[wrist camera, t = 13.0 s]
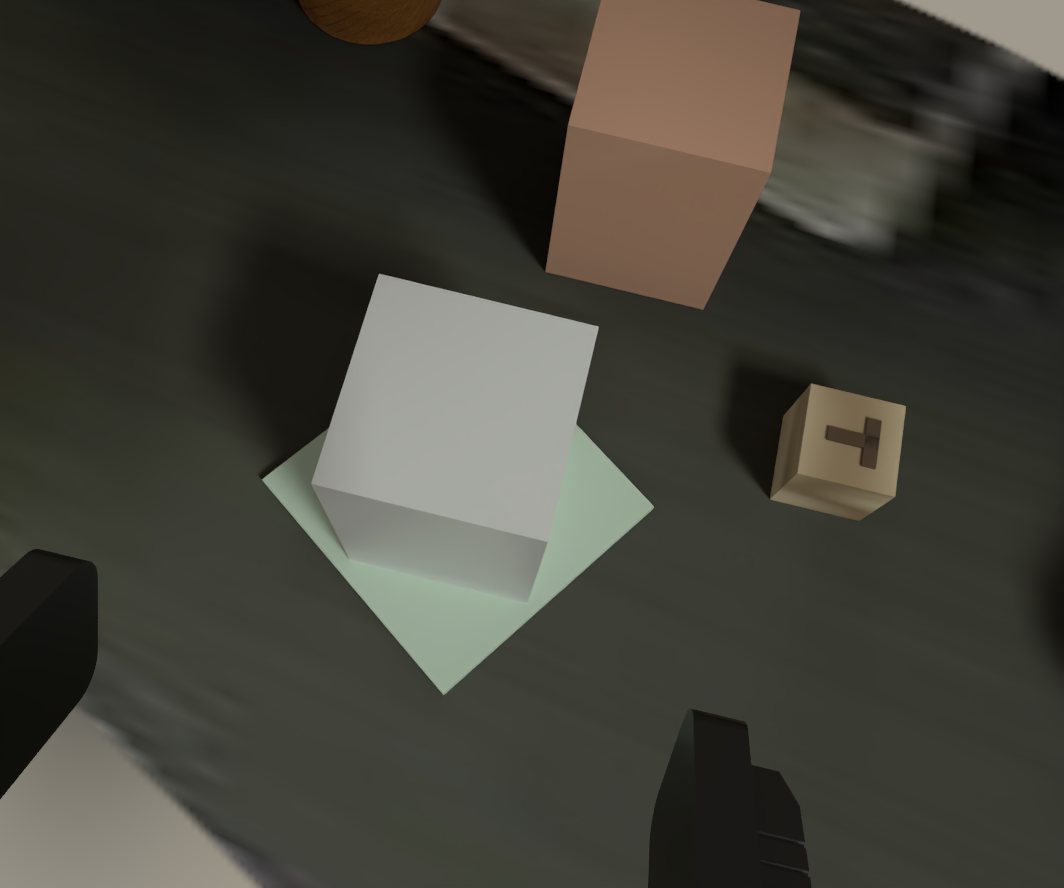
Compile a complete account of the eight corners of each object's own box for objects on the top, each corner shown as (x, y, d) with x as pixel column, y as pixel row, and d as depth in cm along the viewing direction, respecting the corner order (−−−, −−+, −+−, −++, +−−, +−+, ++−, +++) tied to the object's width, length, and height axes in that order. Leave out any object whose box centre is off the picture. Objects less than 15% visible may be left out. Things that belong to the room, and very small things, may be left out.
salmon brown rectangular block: (729, 174, 42) (800, 10, 33) (703, 309, 40) (771, 173, 31) (579, 139, 42) (610, -35, 33) (545, 271, 40) (568, 125, 31)
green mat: (652, 509, 37) (654, 507, 37) (443, 695, 35) (443, 694, 34) (473, 320, 39) (474, 316, 39) (264, 482, 37) (261, 479, 36)
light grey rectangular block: (567, 435, 37) (599, 326, 29) (527, 603, 35) (547, 541, 26) (399, 395, 38) (379, 273, 29) (349, 559, 36) (311, 483, 27)
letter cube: (869, 437, 39) (906, 405, 35) (858, 521, 38) (896, 496, 34) (782, 416, 39) (812, 382, 36) (769, 499, 38) (798, 472, 34)
